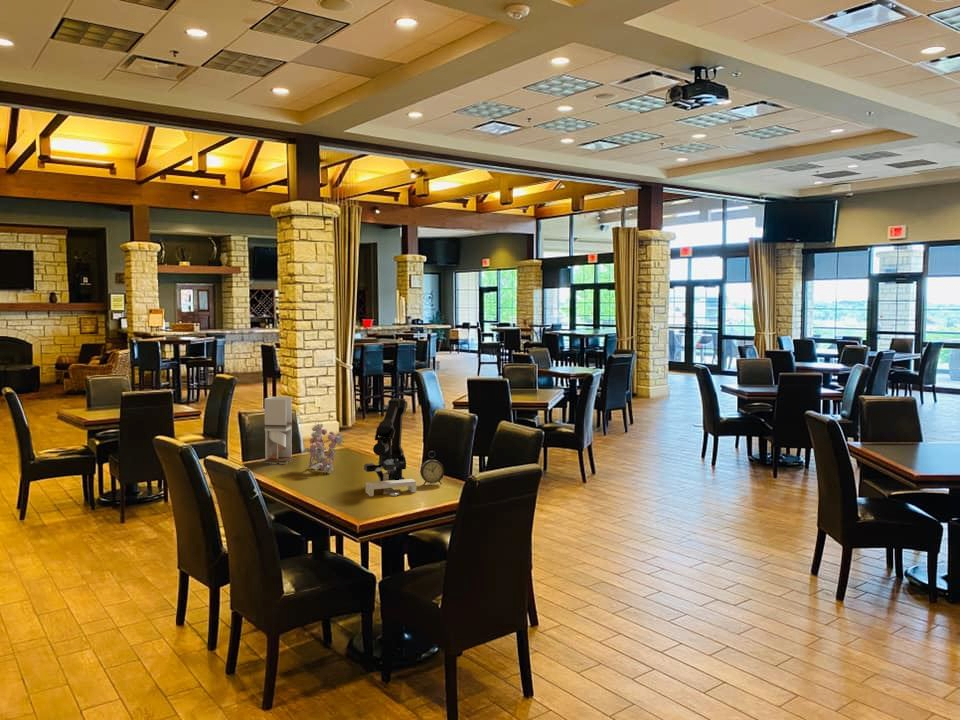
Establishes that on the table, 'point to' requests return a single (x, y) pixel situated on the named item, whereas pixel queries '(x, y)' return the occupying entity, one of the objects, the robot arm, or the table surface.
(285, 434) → the grey dispenser
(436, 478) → the alarm clock
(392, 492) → the steel disc
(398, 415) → the robot arm
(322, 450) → the flower
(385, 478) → the birch pusher
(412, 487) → the cream bench
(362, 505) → the table surface
